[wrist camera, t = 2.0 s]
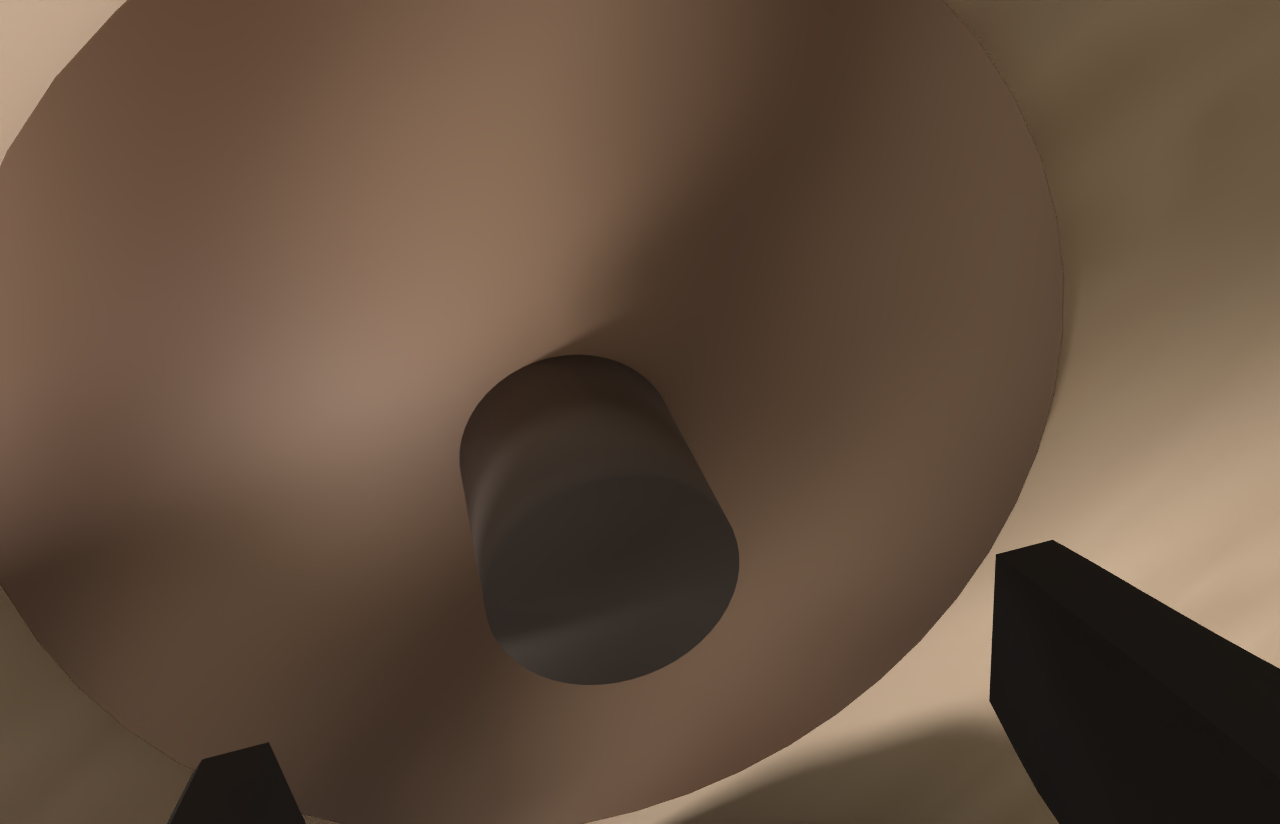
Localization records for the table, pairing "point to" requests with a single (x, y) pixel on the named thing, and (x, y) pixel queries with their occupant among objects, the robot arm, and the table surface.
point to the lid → (513, 381)
